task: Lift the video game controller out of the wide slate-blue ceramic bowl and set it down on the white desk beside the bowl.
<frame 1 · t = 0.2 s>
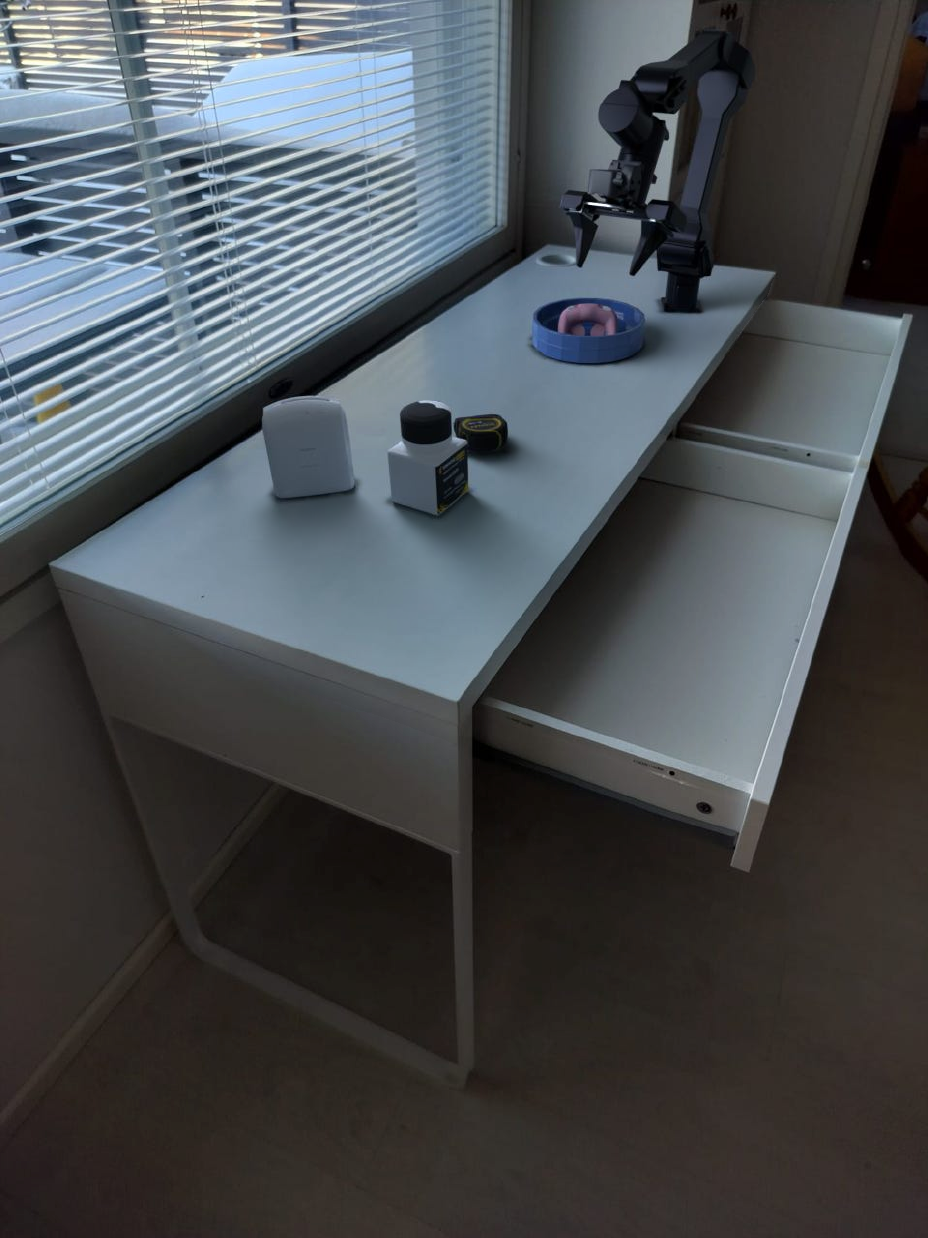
hand: (604, 270, 133), 15 cm above the table, tool tilted 30°, fingers open, 9 cm apart
tape measure: (479, 446, 121), on the table
medicine bottle: (430, 497, 111), on the table
photo printer: (314, 490, 113), on the table
video game controller: (587, 342, 148), resting on bowl
bowl: (586, 342, 149), on the table
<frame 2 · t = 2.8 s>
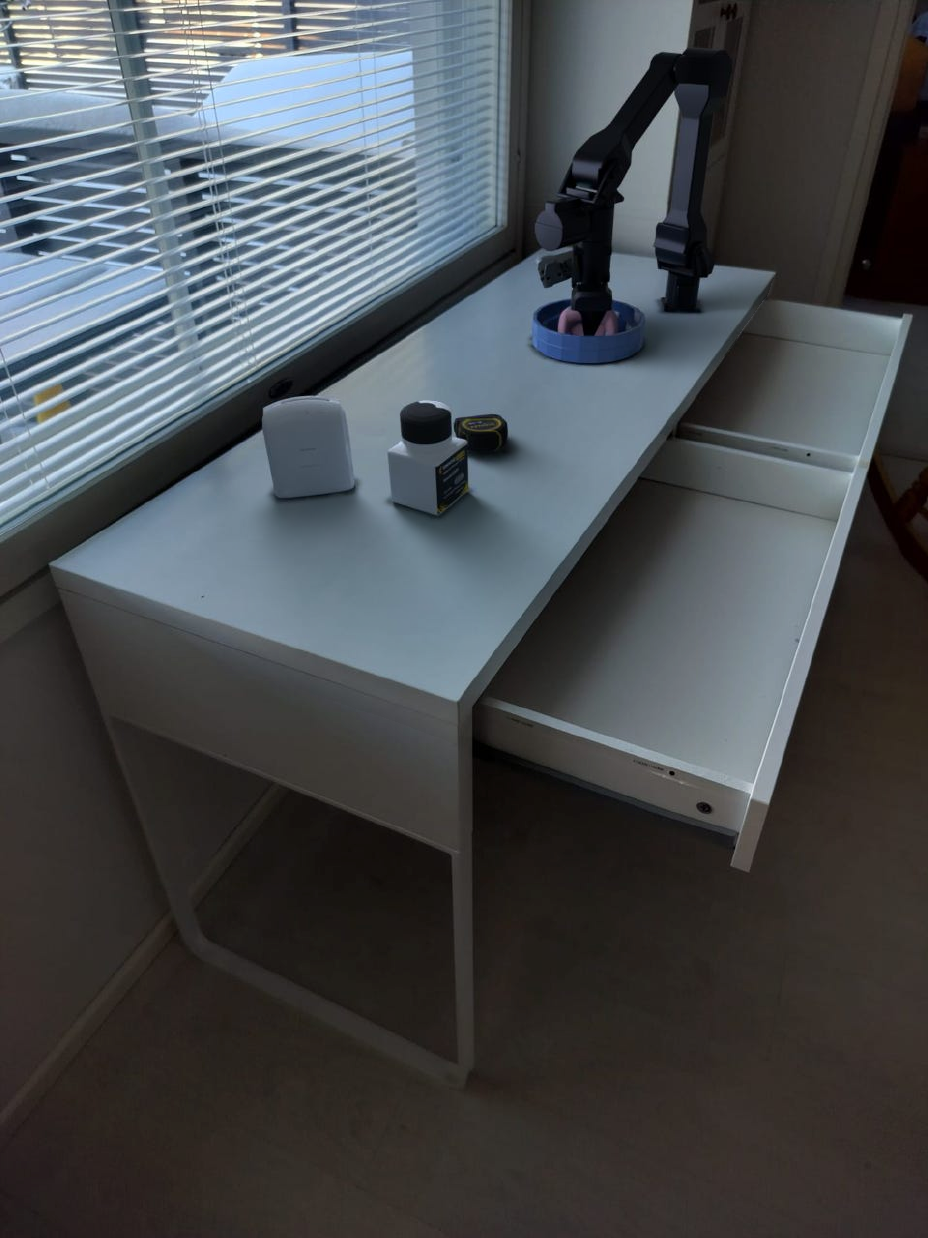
hand: (587, 335, 148), 1 cm above the table, tool pointing down, fingers closed on video game controller, 6 cm apart
video game controller: (587, 342, 148), resting on bowl, touching gripper
everything else where it was.
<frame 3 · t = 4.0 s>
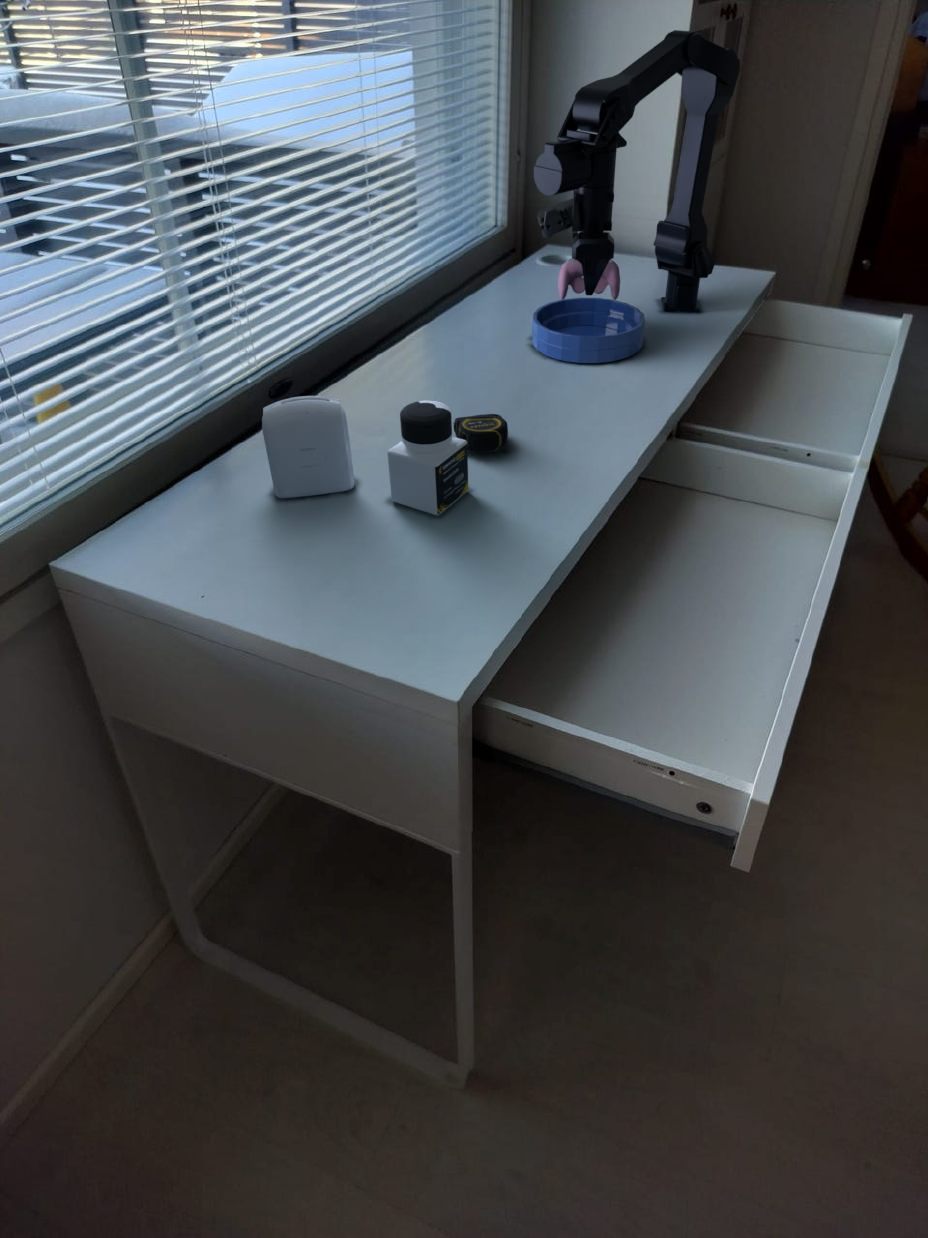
hand: (588, 288, 143), 9 cm above the table, tool pointing down, fingers closed on video game controller, 6 cm apart
video game controller: (588, 296, 144), point 8 cm above the table, touching gripper
everything else where it was.
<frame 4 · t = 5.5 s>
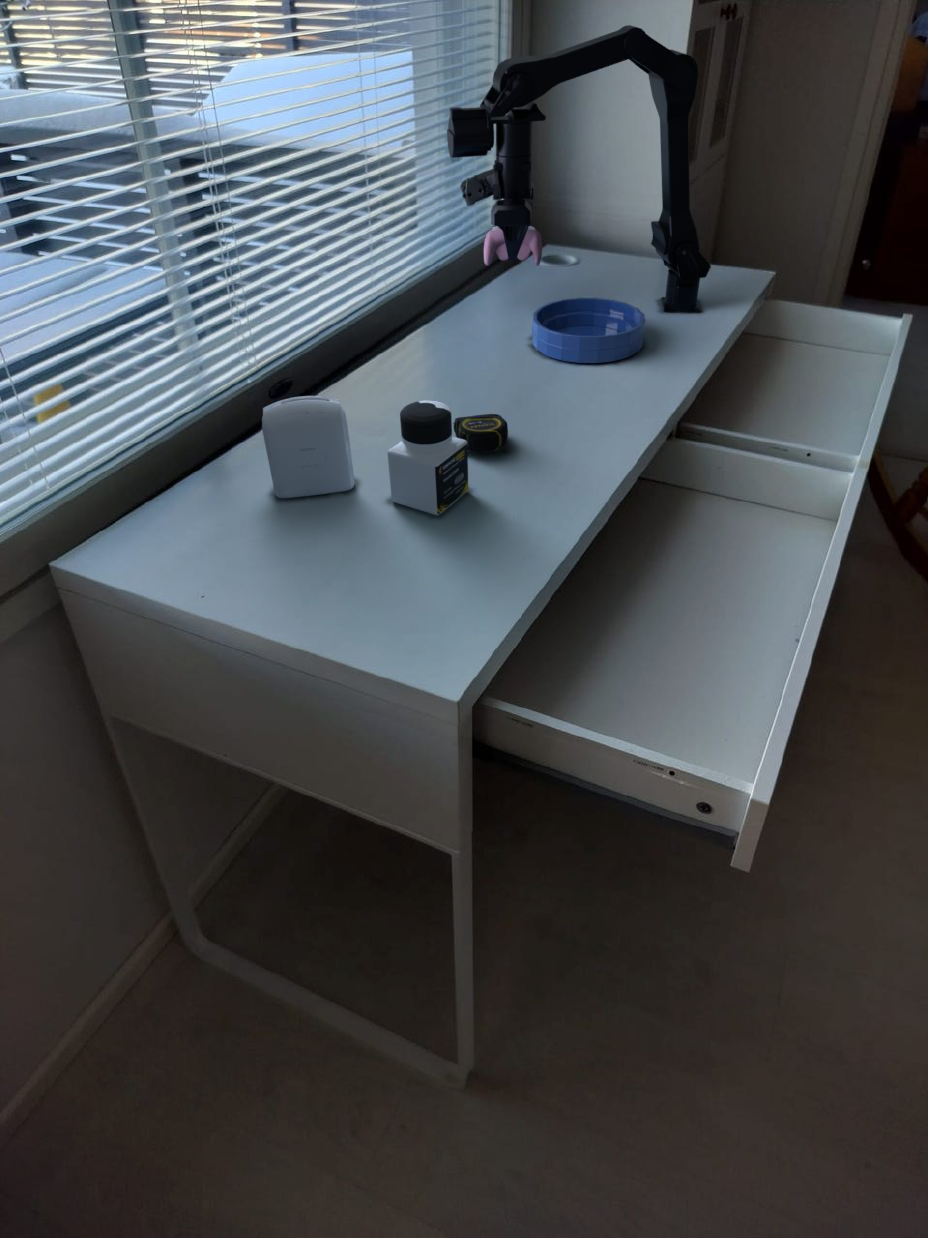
hand: (513, 255, 150), 11 cm above the table, tool pointing down, fingers closed on video game controller, 6 cm apart
video game controller: (512, 262, 151), point 10 cm above the table, touching gripper
everything else where it was.
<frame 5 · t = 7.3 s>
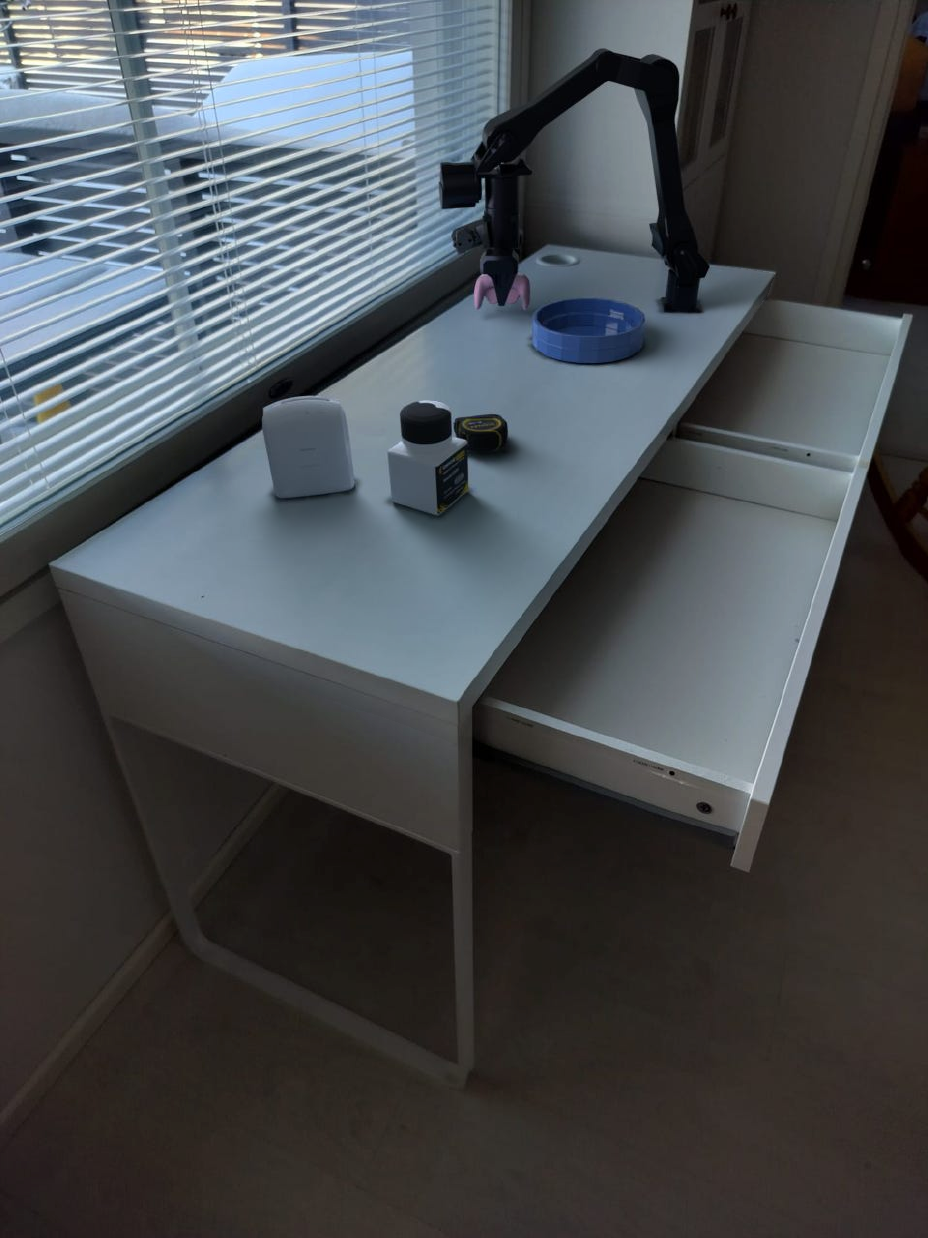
hand: (502, 299, 156), 3 cm above the table, tool pointing down, fingers closed on video game controller, 6 cm apart
video game controller: (502, 306, 157), point 2 cm above the table, touching gripper
everything else where it was.
when the fingers open (1 cm above the table, at t = 8.5 s): video game controller stays where it is, on the table.
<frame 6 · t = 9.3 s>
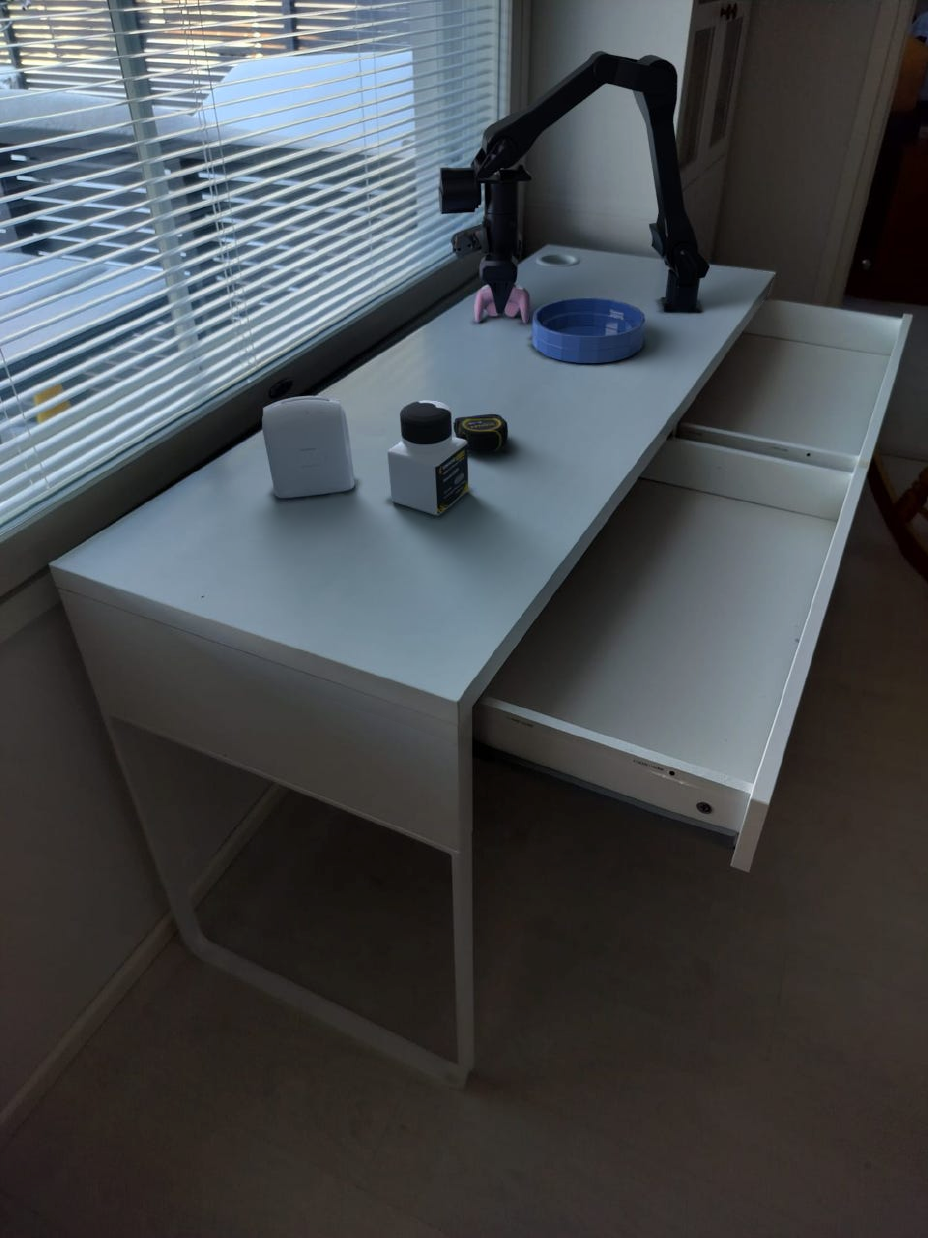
hand: (501, 304, 157), 3 cm above the table, tool pointing down, fingers open, 9 cm apart
video game controller: (502, 319, 159), on the table
everything else where it was.
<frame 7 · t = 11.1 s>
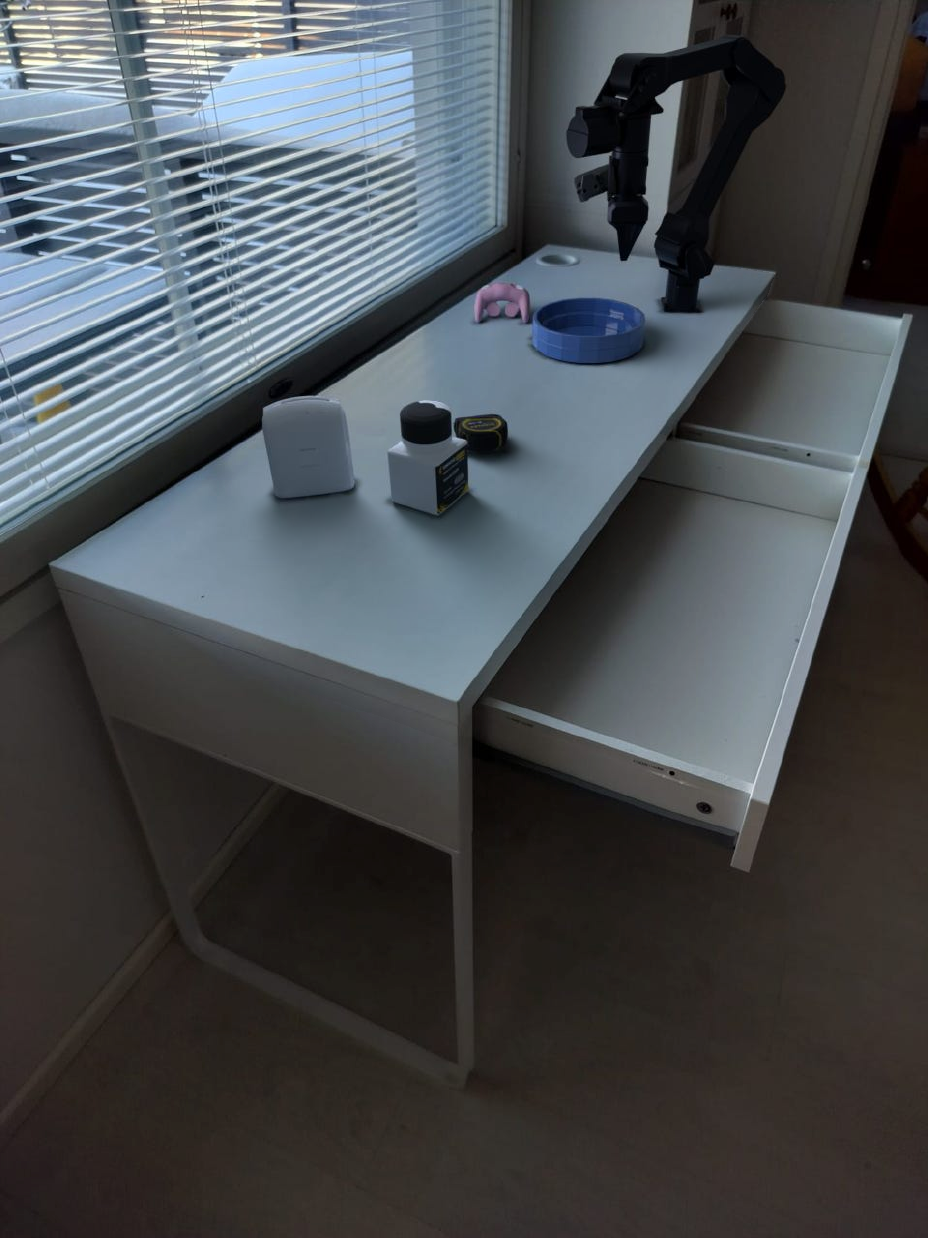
hand: (622, 251, 149), 12 cm above the table, tool pointing down, fingers open, 9 cm apart
nothing on the table moved.
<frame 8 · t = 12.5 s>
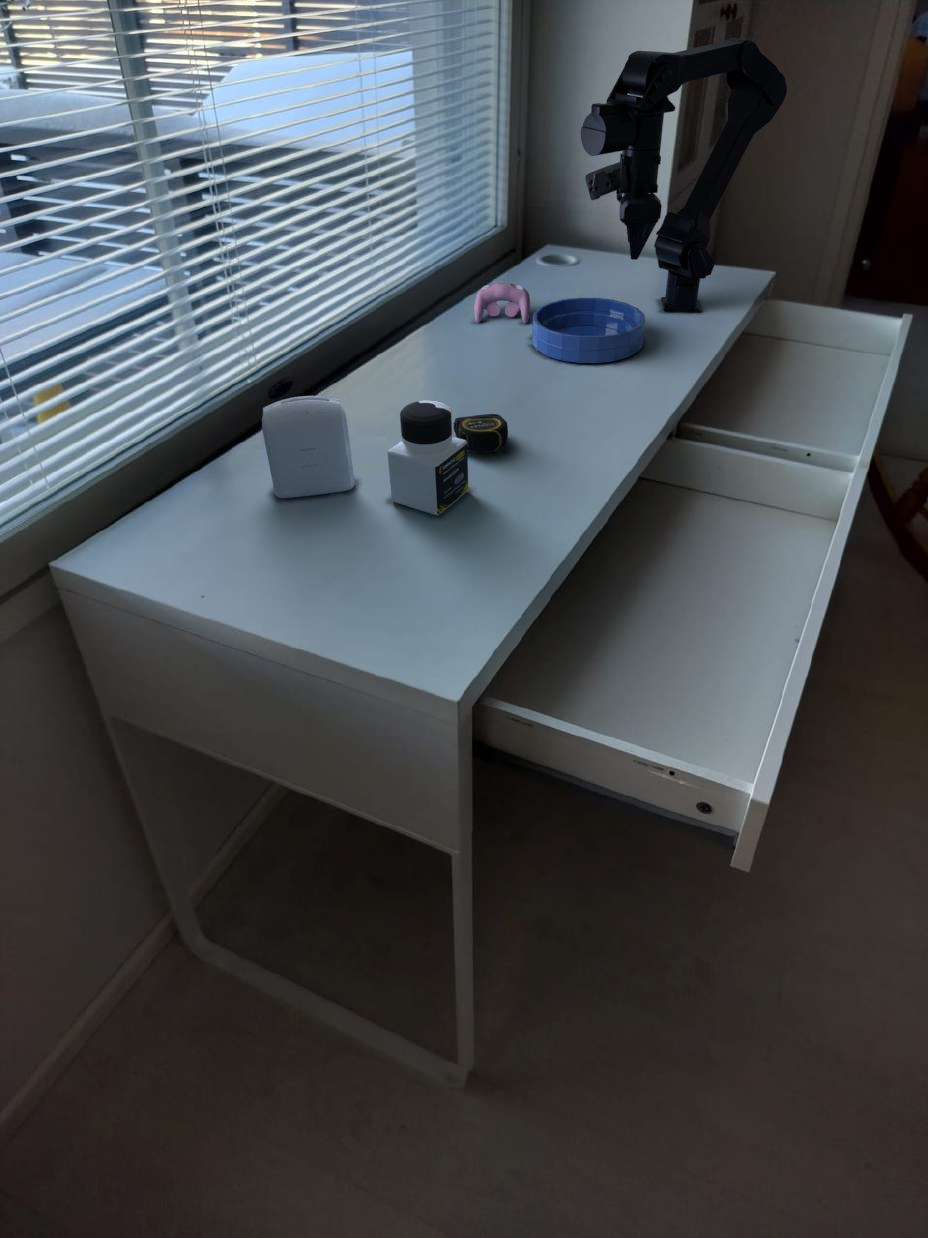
hand: (632, 250, 148), 12 cm above the table, tool pointing down, fingers open, 9 cm apart
nothing on the table moved.
at the end: video game controller inside the target area (0.1 cm from its centre), on the table; video game controller touching table; the gripper is holding nothing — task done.
